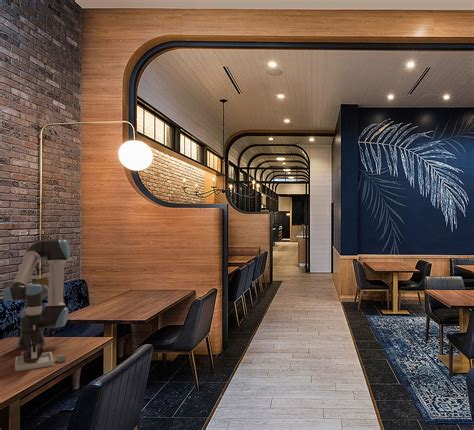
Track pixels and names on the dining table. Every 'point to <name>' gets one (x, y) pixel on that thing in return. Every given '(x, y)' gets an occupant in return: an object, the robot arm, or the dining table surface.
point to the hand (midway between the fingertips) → (34, 354)
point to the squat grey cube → (61, 358)
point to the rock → (28, 354)
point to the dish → (34, 362)
